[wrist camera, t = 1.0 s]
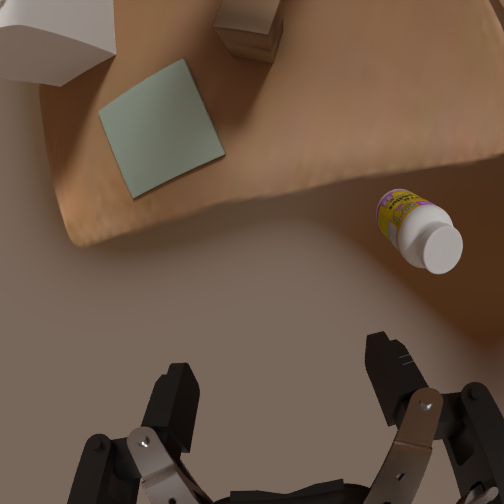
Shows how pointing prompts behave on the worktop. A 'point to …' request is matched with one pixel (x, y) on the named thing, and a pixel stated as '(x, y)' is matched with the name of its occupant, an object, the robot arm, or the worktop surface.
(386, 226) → the supplement bottle
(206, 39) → the worktop surface
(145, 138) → the sage board
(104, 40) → the milk
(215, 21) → the walnut block
